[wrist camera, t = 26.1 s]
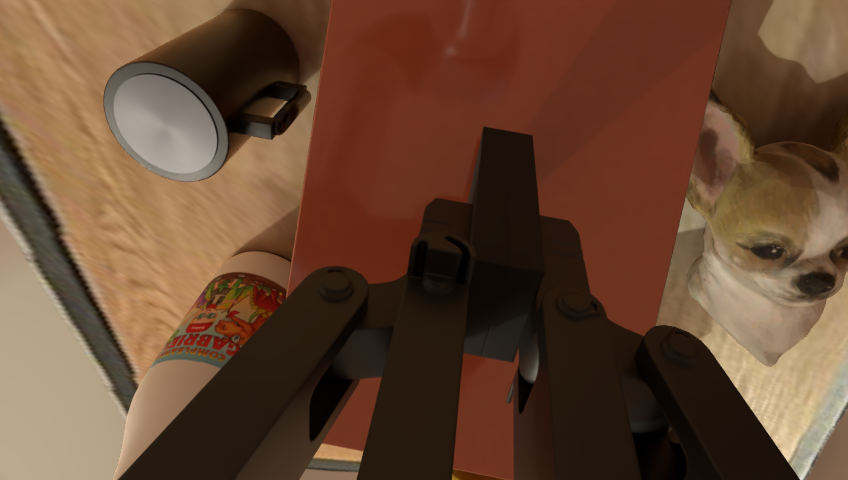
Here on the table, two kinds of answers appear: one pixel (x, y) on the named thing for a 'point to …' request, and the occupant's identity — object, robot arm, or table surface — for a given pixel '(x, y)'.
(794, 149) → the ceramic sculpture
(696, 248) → the table surface
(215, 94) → the silver-capped dark cylinder
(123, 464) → the milk bottle
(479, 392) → the lid
